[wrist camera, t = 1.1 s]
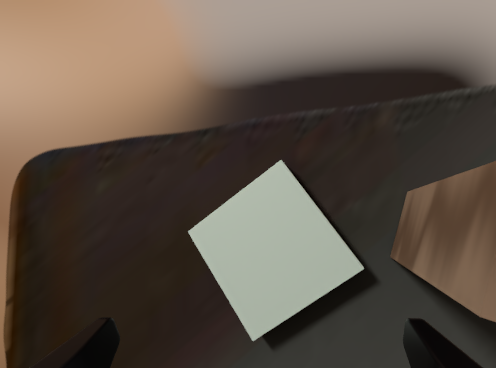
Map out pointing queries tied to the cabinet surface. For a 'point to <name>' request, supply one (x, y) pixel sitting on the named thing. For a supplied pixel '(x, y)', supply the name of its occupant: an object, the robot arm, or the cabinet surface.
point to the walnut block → (453, 237)
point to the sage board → (273, 250)
